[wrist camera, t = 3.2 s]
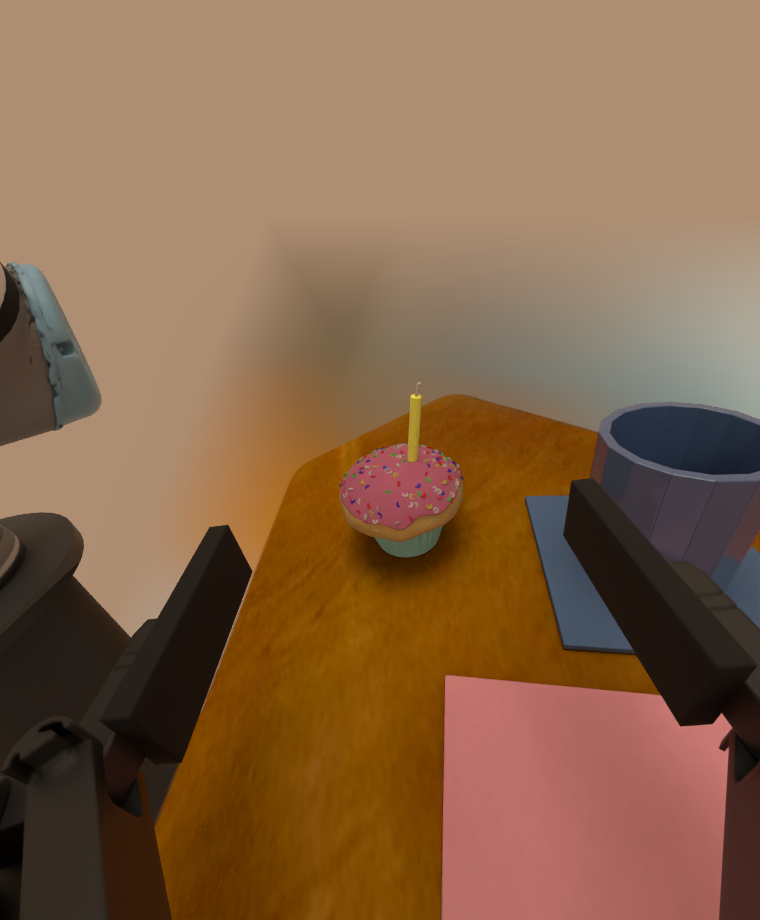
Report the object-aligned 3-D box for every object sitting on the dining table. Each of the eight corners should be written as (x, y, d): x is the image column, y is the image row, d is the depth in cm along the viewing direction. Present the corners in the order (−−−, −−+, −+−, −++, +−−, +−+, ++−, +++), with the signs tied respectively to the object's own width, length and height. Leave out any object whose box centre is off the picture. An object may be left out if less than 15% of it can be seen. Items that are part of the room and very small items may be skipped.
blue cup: (597, 611, 20) (634, 483, 15) (564, 520, 26) (582, 407, 21) (758, 620, 18) (856, 478, 13) (682, 519, 24) (731, 397, 19)
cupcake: (457, 495, 30) (450, 354, 24) (474, 578, 23) (470, 409, 17) (358, 504, 31) (324, 371, 25) (344, 585, 24) (293, 430, 18)
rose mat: (440, 1051, 10) (439, 1051, 10) (445, 678, 18) (445, 674, 18) (1165, 1288, 7) (1187, 1297, 7) (780, 710, 15) (785, 706, 15)
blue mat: (563, 649, 19) (564, 644, 18) (525, 499, 28) (525, 496, 28) (857, 670, 16) (862, 666, 16) (702, 497, 26) (704, 493, 25)
